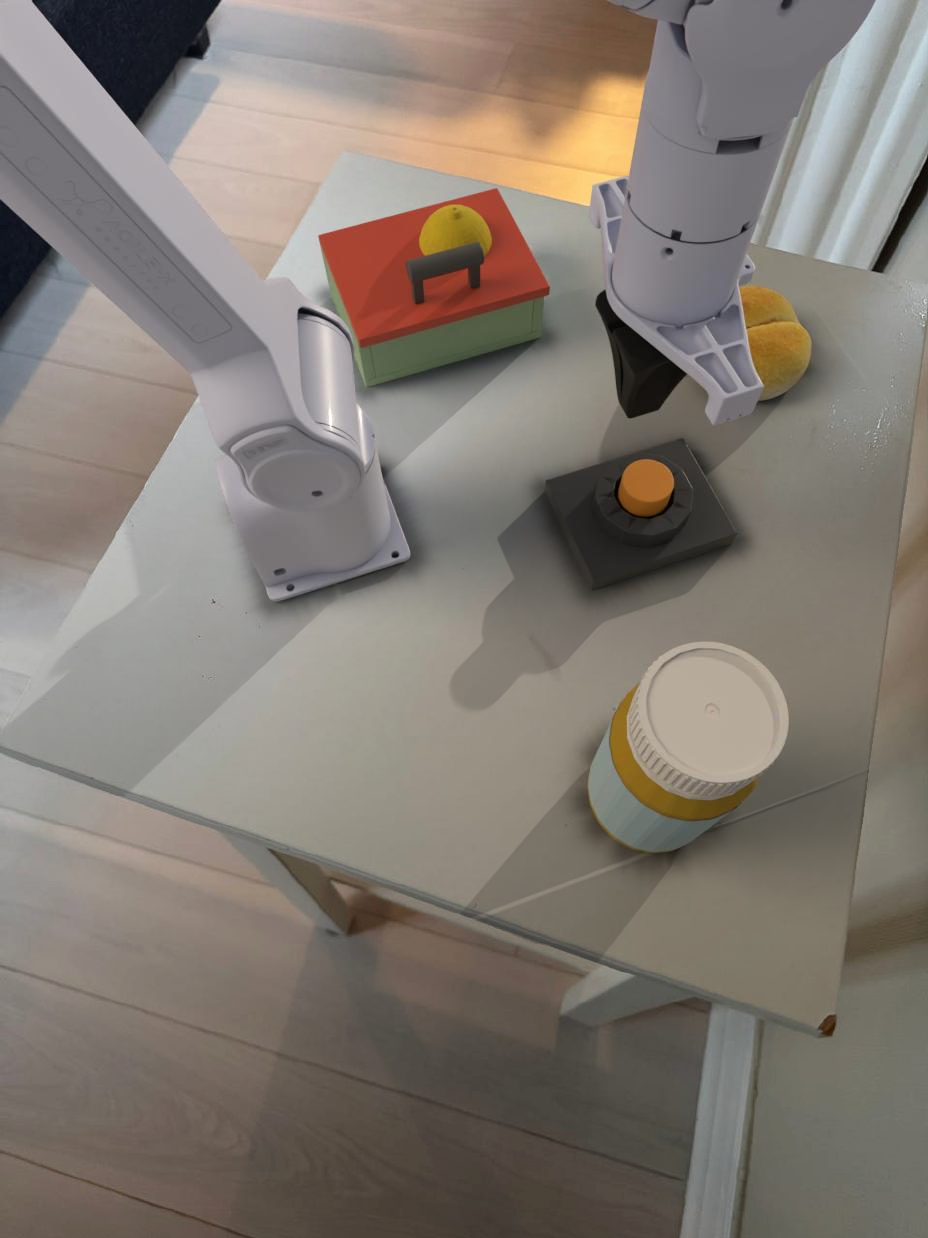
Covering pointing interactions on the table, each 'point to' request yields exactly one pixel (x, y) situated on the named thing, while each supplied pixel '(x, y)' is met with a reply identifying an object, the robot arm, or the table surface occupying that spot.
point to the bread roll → (774, 340)
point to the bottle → (686, 746)
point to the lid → (429, 271)
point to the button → (645, 487)
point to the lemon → (454, 230)
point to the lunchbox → (442, 339)
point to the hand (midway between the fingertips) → (639, 405)
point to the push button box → (637, 517)
